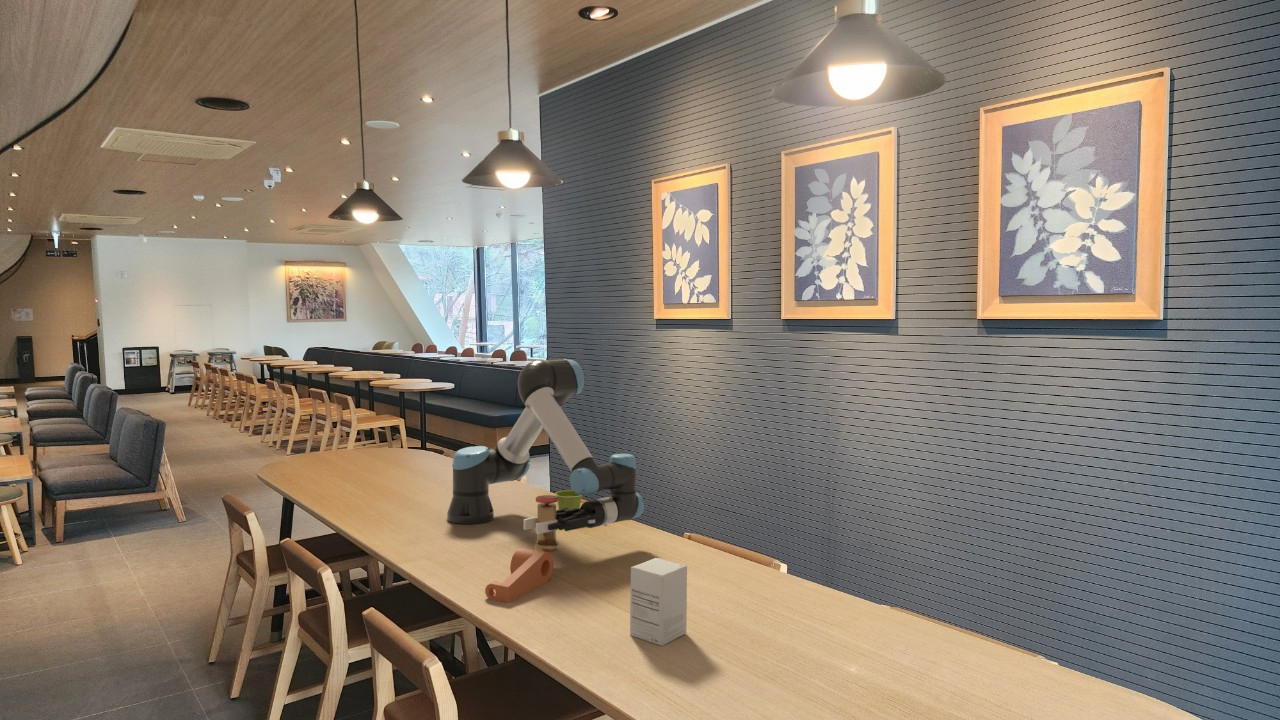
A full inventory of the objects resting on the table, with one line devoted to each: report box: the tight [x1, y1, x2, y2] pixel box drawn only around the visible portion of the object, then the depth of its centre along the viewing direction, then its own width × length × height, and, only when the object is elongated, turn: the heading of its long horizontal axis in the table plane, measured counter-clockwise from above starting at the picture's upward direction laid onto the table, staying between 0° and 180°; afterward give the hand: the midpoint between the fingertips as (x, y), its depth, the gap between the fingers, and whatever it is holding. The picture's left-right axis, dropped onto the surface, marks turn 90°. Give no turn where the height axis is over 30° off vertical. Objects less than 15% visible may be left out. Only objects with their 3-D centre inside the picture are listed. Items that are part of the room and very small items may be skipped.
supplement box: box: [629, 557, 688, 647], centre depth 167 cm, size 9×9×15 cm
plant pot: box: [554, 490, 584, 510], centre depth 261 cm, size 9×9×9 cm
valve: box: [534, 494, 559, 553], centre depth 211 cm, size 6×6×14 cm
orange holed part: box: [484, 547, 555, 603], centre depth 195 cm, size 20×8×8 cm, turn 154°
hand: (530, 526), depth 208 cm, fingers closed on valve, 5 cm apart
